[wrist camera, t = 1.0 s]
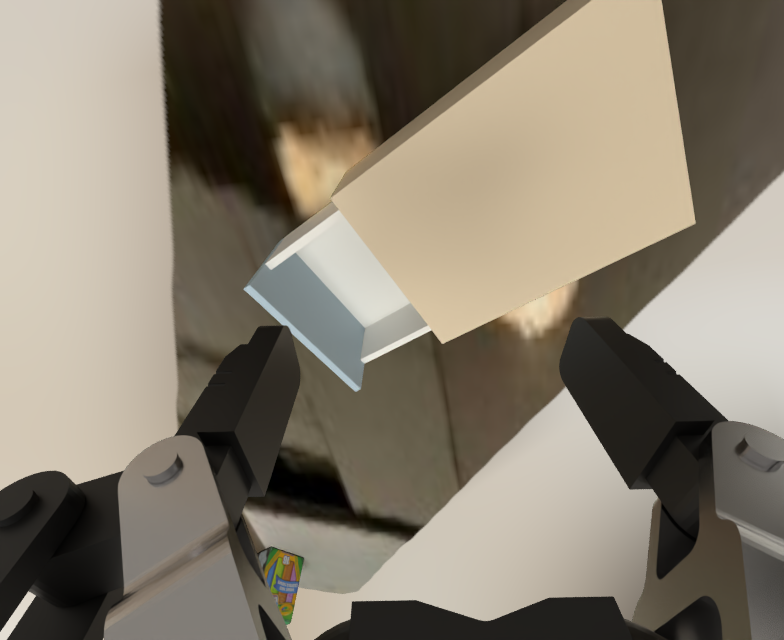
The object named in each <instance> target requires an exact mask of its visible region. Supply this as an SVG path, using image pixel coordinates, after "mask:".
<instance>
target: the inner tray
mask: <svg viewBox="0 0 784 640" xmlns="http://www.w3.org/2000/svg"><path fill="white" fill-rule="evenodd" d="M244 290H245V291H246V292H247V293H248V294H249V295H251V296H252V297H253V298H254V299H255V300H256V301H257V302H258V303H259V304H260V305H261V306H263V307H264V308H265V309H266V310H267V311H268V312H269V313H270V314H271V315H272V316H273V317H275V318H276V319H277V320H278V321H279V322H280V323H281V324H282V325H287V326H288V327H289V329H290V331H291V333H292V334H293V335H294V336H295V337H296V338H297V339H299V340H300V341H301V342H302V343H303V344H304V345H305V346H306V347H307V348H308V349H309V350H310V351H312V352H313V353H314V354H315V355H316V356H317V357H318V358H319V359H320V360H321V361H322V362H324V363H325V364H326V365H327V366H328V367H329V368H330V369H331V370H332V371H333V372H334V373H336V374H337V375H338V376H339V377H340V378H341V379H342V380H343V381H344V382H345V383H346V384H348V385H349V386H350V387H351V388H352V389H353V390H354V391H358V390H360V389H361V384H362V377H363V369H364V364H365V363H367V362H369V361H371V360H373V359H375V358H377V357H379V356H381V355H383V354H385V353H387V352H389V351H391V350H393V349H395V348H397V347H399V346H401V345H403V344H405V343H407V342H409V341H411V340H413V339H415V338H417V337H419V336H421V335H423V334H425V333H427V332H429V331H431V328H430V327H429V326H428V325H427V323H426V322H425V321H424V319H423V318H422V317H421V315H420V314H419V313H418V312H417V310H416V309H415V308H414V306H413V305H412V304H411V303H410V301H409V300H408V299H407V297H406V296H405V295H404V293H403V292H402V291H401V290H400V288H399V287H398V286H397V284H396V283H395V282H394V281H393V279H392V278H391V277H390V275H389V274H388V273H387V271H386V270H385V269H384V268H383V266H382V265H381V264H380V262H379V261H378V260H377V259H376V257H375V256H374V255H373V253H372V252H371V251H370V249H369V248H368V247H367V246H366V244H365V243H364V242H363V240H362V239H361V238H360V237H359V235H358V234H357V233H356V231H355V230H354V229H353V227H352V226H351V225H350V224H349V222H348V221H347V220H346V218H345V217H344V216H343V215H342V213H341V212H340V211H339V209H338V208H337V207H336V205H335V204H334V203H333V202H331V203H329V204H328V205H327V206H325V207H324V208H323V209H321V210H320V211H319V212H317V213H316V214H315V215H313V216H312V217H311V218H309V219H308V220H307V221H305V222H304V223H303V224H301V225H300V226H299V227H297V228H296V229H295V230H294V231H292V232H291V233H290V234H288V235H287V236H286V237H284V238H283V239H282V240H280V241H279V243H278V244H277V245H276V247H275V248H274V249H273V251H272V252H271V253H270V255H269V256H268V257H267V259H266V260H265V261H264V263H263V264H262V265H261V267H260V268H259V269H258V271H257V272H256V273H255V275H254V276H253V277H252V279H251V280H250V281H249V283H248V284H247V285H246V287H245V288H244Z"/></svg>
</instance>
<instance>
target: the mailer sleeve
mask: <svg viewBox="0 0 784 640" xmlns="http://www.w3.org/2000/svg"><path fill="white" fill-rule="evenodd" d="M330 199H331V200H332V202H333V203H334V204H335V205H336V207H337V208H338V209H339V211H340V212H341V213H342V215H343V216H344V217H345V218H346V220H347V221H348V222H349V224H350V225H351V226H352V227H353V229H354V230H355V231H356V233H357V234H358V235H359V237H360V238H361V239H362V240H363V242H364V243H365V244H366V246H367V247H368V248H369V249H370V251H371V252H372V253H373V255H374V256H375V257H376V259H377V260H378V261H379V262H380V264H381V265H382V266H383V268H384V269H385V270H386V271H387V273H388V274H389V275H390V277H391V278H392V279H393V281H394V282H395V283H396V284H397V286H398V287H399V288H400V290H401V291H402V292H403V293H404V295H405V296H406V297H407V299H408V300H409V301H410V303H411V304H412V305H413V306H414V308H415V309H416V310H417V312H418V313H419V314H420V315H421V317H422V318H423V319H424V321H425V322H426V323H427V325H428V326H429V327H430V328H431V330H432V331H433V332H434V334H435V335H436V336H437V337H438V339H439V340H440V341H441V343H442V344H443V343H445V342H447V341H449V340H452V339H454V338H456V337H458V336H460V335H462V334H464V333H466V332H468V331H470V330H473V329H475V328H477V327H479V326H481V325H483V324H485V323H487V322H489V321H491V320H494V319H496V318H498V317H500V316H502V315H504V314H506V313H508V312H510V311H513V310H515V309H517V308H519V307H521V306H523V305H525V304H527V303H529V302H531V301H534V300H536V299H538V298H540V297H542V296H544V295H546V294H548V293H550V292H552V291H555V290H557V289H559V288H561V287H563V286H565V285H567V284H569V283H571V282H573V281H576V280H578V279H580V278H582V277H584V276H586V275H588V274H590V273H592V272H595V271H597V270H599V269H601V268H603V267H605V266H607V265H609V264H611V263H613V262H616V261H618V260H620V259H622V258H624V257H626V256H628V255H630V254H632V253H634V252H637V251H639V250H641V249H643V248H645V247H647V246H649V245H651V244H653V243H655V242H658V241H660V240H662V239H664V238H666V237H668V236H670V235H672V234H674V233H676V232H679V231H681V230H683V229H685V228H687V227H689V226H691V225H693V224H695V216H694V209H693V203H692V196H691V190H690V183H689V177H688V170H687V164H686V157H685V151H684V144H683V138H682V131H681V125H680V118H679V112H678V105H677V99H676V92H675V85H674V79H673V72H672V66H671V59H670V53H669V46H668V40H667V33H666V27H665V20H664V14H663V7H662V1H661V0H567V1H565V2H564V3H563V4H562V5H560V6H559V7H558V8H556V9H555V10H554V11H553V12H551V13H550V14H549V15H547V16H546V17H545V18H544V19H542V20H541V21H540V22H538V23H537V24H536V25H535V26H533V27H532V28H531V29H529V30H528V31H527V32H526V33H524V34H523V35H522V36H520V37H519V38H518V39H517V40H515V41H514V42H513V43H511V44H510V45H509V46H508V47H506V48H505V49H504V50H502V51H501V52H500V53H499V54H497V55H496V56H495V57H493V58H492V59H491V60H490V61H488V62H487V63H486V64H484V65H483V66H482V67H481V68H479V69H478V70H477V71H475V72H474V73H473V74H472V75H470V76H469V77H468V78H466V79H465V80H464V81H463V82H461V83H460V84H459V85H457V86H456V87H455V88H454V89H452V90H451V91H450V92H448V93H447V94H446V95H445V96H443V97H442V98H441V99H439V100H438V101H437V102H436V103H434V104H433V105H432V106H430V107H429V108H428V109H427V110H425V111H424V112H423V113H421V114H420V115H419V116H418V117H416V118H415V119H414V120H412V121H411V122H410V123H409V124H407V125H406V126H405V127H403V128H402V129H401V130H400V131H398V132H397V133H396V134H394V135H393V136H392V137H391V138H389V139H388V140H387V141H385V142H384V143H383V144H382V145H380V146H379V147H378V148H376V149H375V150H374V151H372V152H371V153H370V154H369V155H367V156H366V157H365V158H363V159H362V160H361V161H360V162H358V163H357V164H356V165H354V166H353V167H352V168H351V169H349V170H348V171H347V172H346V173H345V174H344V176H343V178H342V179H341V181H340V183H339V184H338V186H337V188H336V190H335V191H334V193H333V195H332V196H331V198H330Z"/></svg>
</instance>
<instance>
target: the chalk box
mask: <svg viewBox="0 0 784 640" xmlns="http://www.w3.org/2000/svg"><path fill="white" fill-rule="evenodd" d="M257 555H258V558H259V560H260V563H261V566H262V569H263V571H264V574H265V577H266V579H267V582H268V585H269V587H270V590H271V592H272V595H273V597H274V599H275V602H276V604H277V606H278V608H279V610H280V612H281V614H282V617H283V619H284V621H285V624H286V625H287V624H290V622H291V619H292V614H293V610H294V605H295V600H296V595H297V590H298V585H299V580H300V575H301V570H302V565H303V560H304V558H302V557H298V556H296V555H293V554H290V553H287V552H284V551H281V550H278V549H275V548H273V547H270V548H268V549H266V550H264V551H262V552H260V553H258V554H257Z"/></svg>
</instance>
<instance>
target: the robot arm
mask: <svg viewBox="0 0 784 640" xmlns="http://www.w3.org/2000/svg"><path fill="white" fill-rule="evenodd" d="M559 368H560V375H561V378H562V380H563V382H564V384H565V386H566V387H567V389H568V390H569V392H570V394H571V395H572V397H573V399H574V400H575V401H576V403H577V405H578V407H579V408H580V410H581V411H582V413H583V415H584V416H585V418H586V420H587V421H588V423H589V424H590V426H591V428H592V429H593V431H594V432H595V434H596V436H597V437H598V439H599V441H600V442H601V444H602V445H603V447H604V449H605V450H606V452H607V453H608V455H609V457H610V458H611V460H612V462H613V463H614V465H615V467H616V468H617V470H618V471H619V473H620V475H621V476H622V478H623V479H624V481H625V482H626V484H627V486H628V488H629V489H653V490H654V492H655V493H656V495H657V496H658V498H657V499H656V501H655V502H654V504H653V509H652V519H651V529H650V541H649V550H648V561H647V571H646V580H645V585H644V589H643V592H642V595H641V597H640V599H639V601H638V603H637V606H636V608H635V611H634V615H633V619H632V622H631V621H629V620H626V619H624V618H623V616H622V614H621V612H620V610H619V607H618V605H617V603H616V601H615V599H614V597H565V598H547V599H545V600H542V601H540V602H537V603H535V604H532V605H530V606H527V607H524V608H522V609H519V610H517V611H514V612H512V613H509V614H507V615H504V616H502V617H500V618H497V619H495V620H491V621H480V620H477V619H474V618H470V617H467V616H464V615H461V614H458V613H454V612H451V611H448V610H445V609H442V608H438V607H435V606H432V605H429V604H426V603H423V602H419V601H416V600H409V601H356V602H352V609H351V619H350V620H348V621H345V622H342V623H340V624H338V625H336V626H334V627H333V628H331V629H329V630H327V631H325V632H324V633H323V634H321V635H320V636H319V637H317V638H316V639H314V640H784V439H782V438H780V437H779V436H777V435H775V434H773V433H771V432H769V431H767V430H764V429H762V428H759V427H756V426H753V425H750V424H746V423H741V422H735V421H728V420H727V419H726V418H725V417H724V416H723V415H722V414H721V413H720V412H719V411H717V409H715V408H714V407H713V406H712V405H711V404H710V403H709V402H708V401H707V400H706V399H705V398H704V397H703V396H702V395H700V393H698V392H697V391H696V390H695V389H694V388H693V387H692V386H691V385H690V384H689V383H688V382H687V381H686V380H685V379H684V378H683V377H682V376H680V375H677V374H676V371H675V370H674V369H673V368H672V367H671V366H670V365H669V364H668V363H667V362H666V363H664V361H663V358H661V357H660V356H659V355H658V354H657V353H656V352H655V351H654V350H653V349H652V348H651V347H650V346H648V345H647V344H645V343H643V342H642V341H640V340H638V339H637V338H635V337H633V336H631V335H630V334H626V333H625V332H624V331H623V330H622V329H621V328H620V327H619V326H618V325H617V324H616V323H615V322H614V321H613V320H612V319H611V318H609V317H578V318H576V319H575V320H574V321H573V323H572V325H571V328H570V331H569V334H568V337H567V340H566V343H565V346H564V349H563V352H562V356H561V359H560V364H559ZM299 384H300V367H299V363H298V359H297V355H296V351H295V347H294V343H293V339H292V335H291V331H290V329H289V327H288V326H287V325H282V326H260V327H258V328H257V330H256V331H255V333H254V335H253V336H252V338H251V340H250V342H249V343H248V344H241V345H239V346H238V347H237V348H236V349H234V350H233V351H232V352H231V353H229V354H228V355H227V356H226V357H225V358H224V360H223V361H222V363H221V364H220V366H219V367H218V369H217V371H216V374H214V375H213V377H212V378H211V380H210V381H209V383H208V387H206V388H205V389H204V391H203V392H202V394H201V395H200V397H199V399H198V400H197V402H196V403H195V405H194V406H193V408H192V409H191V411H190V413H189V414H188V416H187V417H186V419H185V420H184V422H183V423H182V425H181V427H180V428H179V430H178V431H177V433H176V434H175V436H174V437H170V438H166V439H164V440H161V441H159V442H157V443H155V444H153V445H151V446H150V447H148V448H146V449H145V450H144V451H142V452H141V453H140V454H139V455H137V456H136V457H135V458H134V459H133V460H132V461H131V462H130V464H129V465H128V466H127V467H126V469H125V470H124V471H121V472H118V473H115V474H111V475H108V476H105V477H101V478H98V479H94V480H91V481H88V482H84V483H81V484H78V485H76V484H74V483H73V482H72V481H71V480H70V479H69V478H68V477H67V476H66V475H65V474H64V473H62V472H58V471H45V472H40V473H36V474H33V475H30V476H28V477H25V478H23V479H21V480H18V481H16V482H14V483H13V484H11V485H9V486H7V487H6V488H4V489H2V490H1V491H0V631H1V630H2V628H3V627H4V626H5V624H6V623H7V621H8V620H9V618H10V617H11V615H12V614H13V613H14V611H15V610H16V608H17V607H18V605H19V604H20V602H21V601H22V599H23V598H24V596H25V595H26V594H27V592H28V591H29V592H31V593H33V594H34V595H36V597H35V598H34V600H33V601H32V603H31V605H30V606H29V607H28V609H27V610H26V612H25V614H24V615H23V617H22V618H21V619H20V621H19V622H18V624H17V625H16V627H15V629H14V630H13V631H12V633H11V635H10V636H9V637H8V639H7V640H103V638H104V640H292V639H291V637H290V634H289V631H288V629H287V626H286V624H285V621H284V619H283V617H282V614H281V612H280V610H279V608H278V606H277V604H276V602H275V599H274V597H273V595H272V592H271V590H270V587H269V585H268V582H267V579H266V577H265V574H264V571H263V569H262V566H261V563H260V560H259V558H258V555H257V552H256V550H255V547H254V544H253V542H252V539H251V536H250V534H249V531H248V528H247V525H246V523H245V520H244V517H243V515H242V511H243V508H244V505H245V502H246V500H247V497H257V496H265V493H266V490H267V487H268V484H269V480H270V477H271V474H272V471H273V468H274V465H275V461H276V458H277V455H278V452H279V449H280V446H281V442H282V439H283V436H284V433H285V430H286V427H287V424H288V420H289V417H290V414H291V411H292V408H293V405H294V401H295V398H296V395H297V392H298V389H299Z"/></svg>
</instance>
